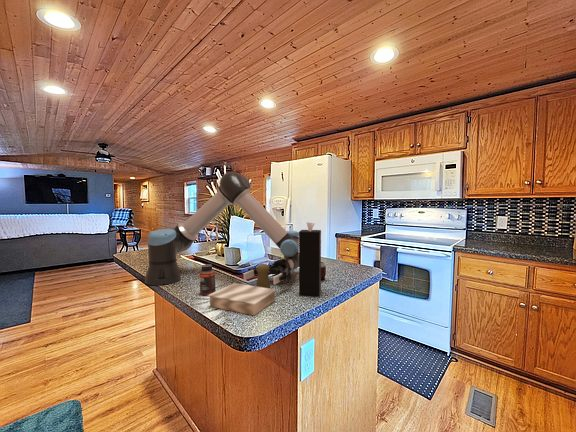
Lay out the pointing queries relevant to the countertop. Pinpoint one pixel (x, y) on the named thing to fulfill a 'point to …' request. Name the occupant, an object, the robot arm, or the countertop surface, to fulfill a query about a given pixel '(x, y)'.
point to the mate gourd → (323, 271)
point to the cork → (263, 276)
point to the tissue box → (310, 261)
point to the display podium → (242, 298)
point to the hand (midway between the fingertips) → (258, 278)
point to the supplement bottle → (207, 280)
